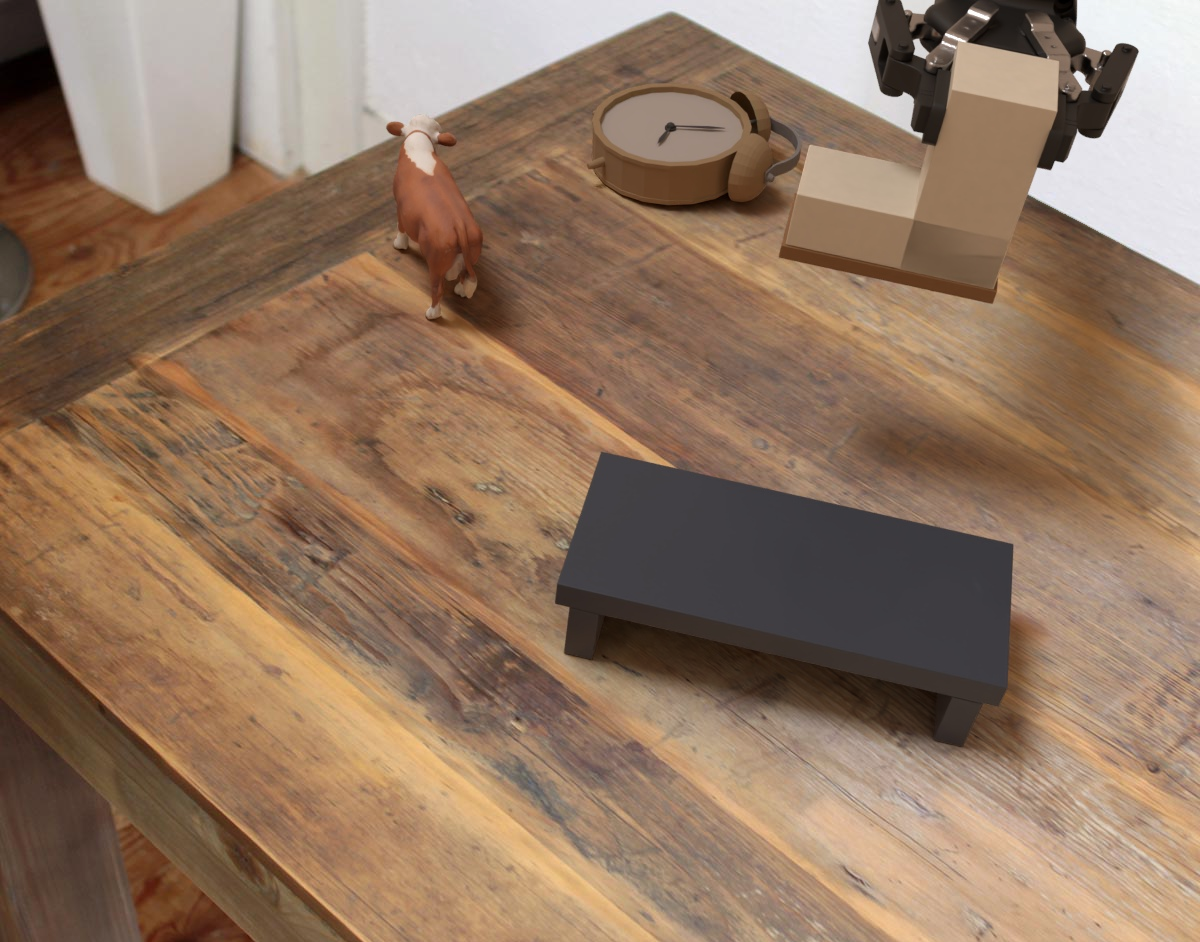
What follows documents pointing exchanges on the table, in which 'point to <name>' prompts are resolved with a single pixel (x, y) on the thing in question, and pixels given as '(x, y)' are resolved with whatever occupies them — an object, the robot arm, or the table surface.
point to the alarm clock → (686, 144)
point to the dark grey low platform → (793, 582)
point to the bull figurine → (434, 209)
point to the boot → (935, 185)
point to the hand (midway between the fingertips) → (992, 139)
